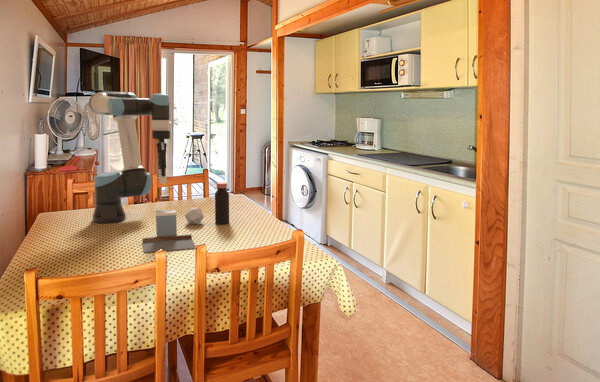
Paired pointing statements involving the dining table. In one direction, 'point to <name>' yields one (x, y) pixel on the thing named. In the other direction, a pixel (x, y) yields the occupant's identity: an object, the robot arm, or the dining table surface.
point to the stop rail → (167, 238)
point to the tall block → (166, 223)
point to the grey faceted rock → (194, 216)
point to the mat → (168, 245)
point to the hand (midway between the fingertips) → (162, 182)
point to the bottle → (221, 204)
